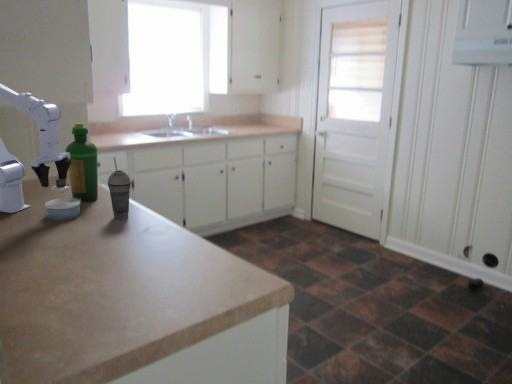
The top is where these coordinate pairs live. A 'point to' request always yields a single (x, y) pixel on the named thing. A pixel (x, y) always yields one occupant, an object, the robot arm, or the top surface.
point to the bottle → (83, 165)
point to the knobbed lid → (61, 185)
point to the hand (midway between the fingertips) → (54, 183)
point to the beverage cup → (119, 193)
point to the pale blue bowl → (63, 208)
